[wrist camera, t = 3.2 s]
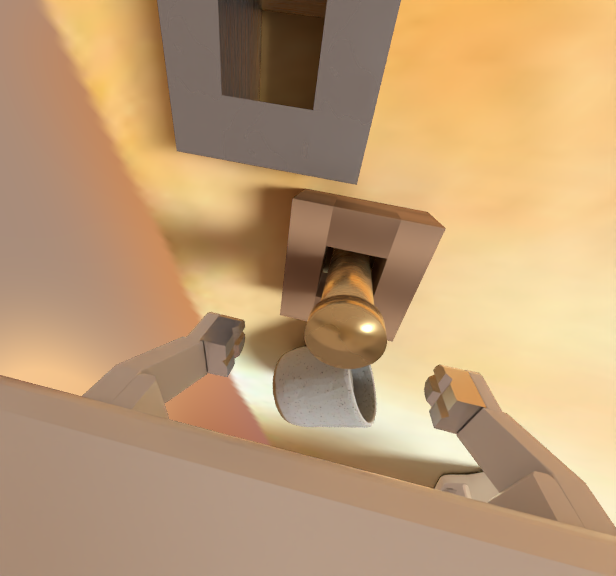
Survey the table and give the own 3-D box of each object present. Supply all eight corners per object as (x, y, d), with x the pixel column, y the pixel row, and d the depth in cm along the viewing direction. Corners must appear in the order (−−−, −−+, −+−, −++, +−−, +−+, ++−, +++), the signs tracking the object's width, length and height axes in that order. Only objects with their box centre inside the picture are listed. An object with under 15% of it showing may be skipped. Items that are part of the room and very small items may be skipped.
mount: (386, 311, 21) (392, 341, 18) (292, 289, 22) (280, 315, 19) (428, 212, 17) (445, 228, 13) (305, 188, 17) (292, 198, 14)
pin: (366, 280, 20) (372, 376, 12) (323, 271, 21) (299, 358, 12) (380, 239, 18) (399, 318, 10) (332, 229, 19) (310, 298, 10)
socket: (357, 175, 16) (356, 184, 12) (221, 150, 17) (176, 151, 13) (411, -57, 11) (444, -184, 7) (211, -78, 12) (130, -203, 8)
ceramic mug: (280, 337, 26) (254, 403, 19) (350, 318, 23) (348, 388, 16) (321, 396, 30) (312, 466, 24) (385, 387, 27) (394, 464, 20)
